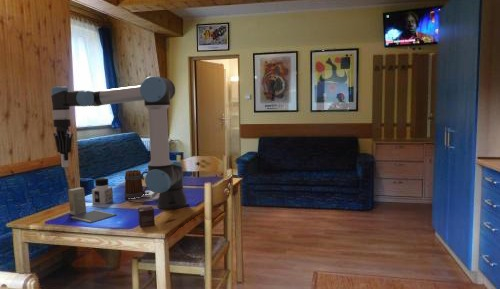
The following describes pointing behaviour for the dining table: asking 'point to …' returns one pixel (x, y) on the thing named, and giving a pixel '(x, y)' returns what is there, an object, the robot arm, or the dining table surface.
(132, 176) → the mug
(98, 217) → the mat
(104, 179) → the container
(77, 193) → the skincare box
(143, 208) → the box
